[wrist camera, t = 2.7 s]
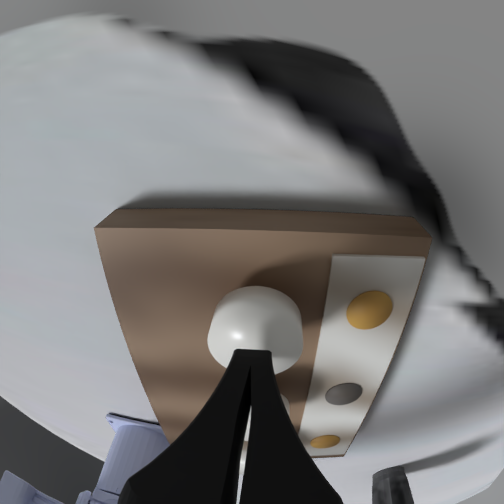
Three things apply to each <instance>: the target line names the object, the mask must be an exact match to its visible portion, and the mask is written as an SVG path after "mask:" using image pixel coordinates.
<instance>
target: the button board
mask: <svg viewBox="0 0 504 504" xmlns="http://www.w3.org/2000/svg"><path fill="white" fill-rule="evenodd" d="M94 231H95V235H96V240H97V244H98V248H99V252H100V256H101V260H102V264H103V268H104V272H105V276H106V279H107V283H108V287H109V290H110V294H111V297H112V300H113V304H114V307H115V310H116V313H117V316H118V319H119V323H120V326H121V329H122V332H123V334H124V337H125V340H126V343H127V346H128V349H129V351H130V354H131V357H132V360H133V362H134V365H135V367H136V370H137V373H138V375H139V378H140V380H141V383H142V385H143V387H144V390H145V392H146V395H147V397H148V399H149V402H150V404H151V406H152V408H153V411H154V413H155V415H156V417H157V419H158V422H159V424H160V426H161V428H162V430H163V432H164V434H165V436H166V438H167V440H168V442H169V444H170V445H171V444H172V443H173V442H174V441H175V440H176V439H177V438H178V437H179V436H180V434H181V433H182V432H183V431H184V430H185V429H186V428H187V427H188V426H189V424H190V423H191V422H192V421H193V420H194V418H195V417H196V416H197V415H198V413H199V412H200V411H201V409H202V408H203V407H204V405H205V404H206V402H207V401H208V399H209V398H210V396H211V395H212V393H213V392H214V390H215V388H216V387H217V385H218V383H219V382H220V380H221V378H222V376H223V375H224V373H225V371H226V369H227V368H225V367H224V366H222V365H221V364H220V363H219V362H218V361H216V360H215V358H214V357H213V356H212V354H211V352H210V350H209V348H208V341H207V339H208V333H209V330H210V326H211V322H212V319H213V315H214V311H215V308H216V306H217V304H218V303H219V301H220V300H221V299H222V298H223V297H224V296H225V295H227V294H228V293H230V292H232V291H233V290H236V289H239V288H242V287H248V286H263V287H269V288H272V289H275V290H278V291H280V292H282V293H284V294H285V295H287V296H288V297H289V298H291V299H292V300H293V301H294V302H295V304H296V305H297V307H298V309H299V311H300V314H301V320H302V334H303V350H302V353H301V356H300V357H299V359H298V360H297V362H296V363H295V364H294V365H292V366H291V367H290V368H288V369H287V370H285V371H283V372H280V373H277V374H275V377H276V381H277V385H278V388H279V391H280V394H282V395H283V396H284V397H286V398H287V400H288V402H289V405H290V412H289V417H290V420H291V422H292V424H293V426H294V428H295V430H296V432H297V434H298V436H299V438H300V440H301V442H302V443H303V445H304V447H305V449H306V450H307V452H308V454H309V455H310V457H311V458H326V457H343V456H344V455H345V453H346V452H347V450H348V448H349V446H350V445H351V443H352V441H353V439H354V438H355V436H356V434H357V432H358V430H359V428H360V427H361V425H362V423H363V421H364V419H365V417H366V415H367V413H368V411H369V409H370V407H371V405H372V403H373V401H374V399H375V397H376V395H377V393H378V391H379V388H380V386H381V384H382V382H383V380H384V378H385V375H386V373H387V371H388V368H389V366H390V364H391V361H392V359H393V357H394V354H395V352H396V349H397V347H398V344H399V342H400V339H401V337H402V334H403V331H404V329H405V326H406V323H407V320H408V318H409V315H410V312H411V309H412V306H413V303H414V300H415V297H416V294H417V291H418V288H419V284H420V281H421V278H422V274H423V271H424V267H425V264H426V260H427V257H428V253H429V249H430V245H431V241H432V237H431V236H430V235H429V234H428V233H427V231H426V230H425V229H424V228H423V227H422V226H421V225H420V224H419V223H418V222H417V221H416V220H415V219H414V218H413V217H404V216H390V215H375V214H359V213H341V212H320V211H295V210H263V209H200V208H166V209H116V210H114V211H113V212H112V213H111V214H110V215H108V216H107V217H106V218H105V219H104V220H103V221H101V222H100V223H99V224H98V225H97V226H96V227H94Z"/></svg>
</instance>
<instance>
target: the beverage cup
mask: <svg viewBox="0 0 504 504" xmlns="http://www.w3.org/2000/svg"><path fill="white" fill-rule="evenodd" d="M372 504H414V501H413V497H412V494H411V490H410V486H409V483H408V479H407V477H406V474H405V472H404V468H403V467H392V468H387V469H384V470H381V471H379V472H377V473H375V474H374V475H373V486H372Z"/></svg>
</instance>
